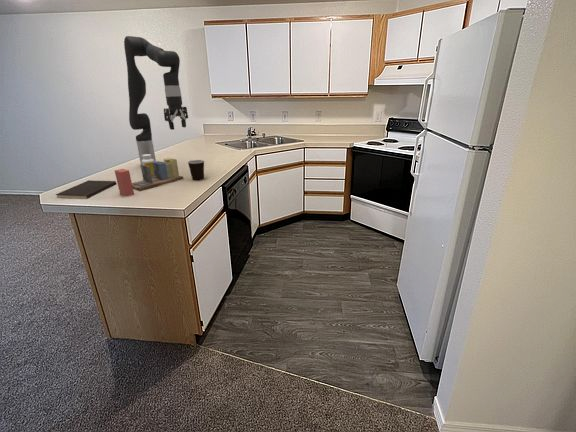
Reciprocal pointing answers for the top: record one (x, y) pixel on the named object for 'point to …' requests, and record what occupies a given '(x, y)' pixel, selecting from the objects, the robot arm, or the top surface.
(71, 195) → the hardcover book
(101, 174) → the top surface
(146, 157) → the supplement bottle
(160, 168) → the shelf
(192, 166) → the coffee mug
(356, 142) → the top surface
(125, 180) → the book
